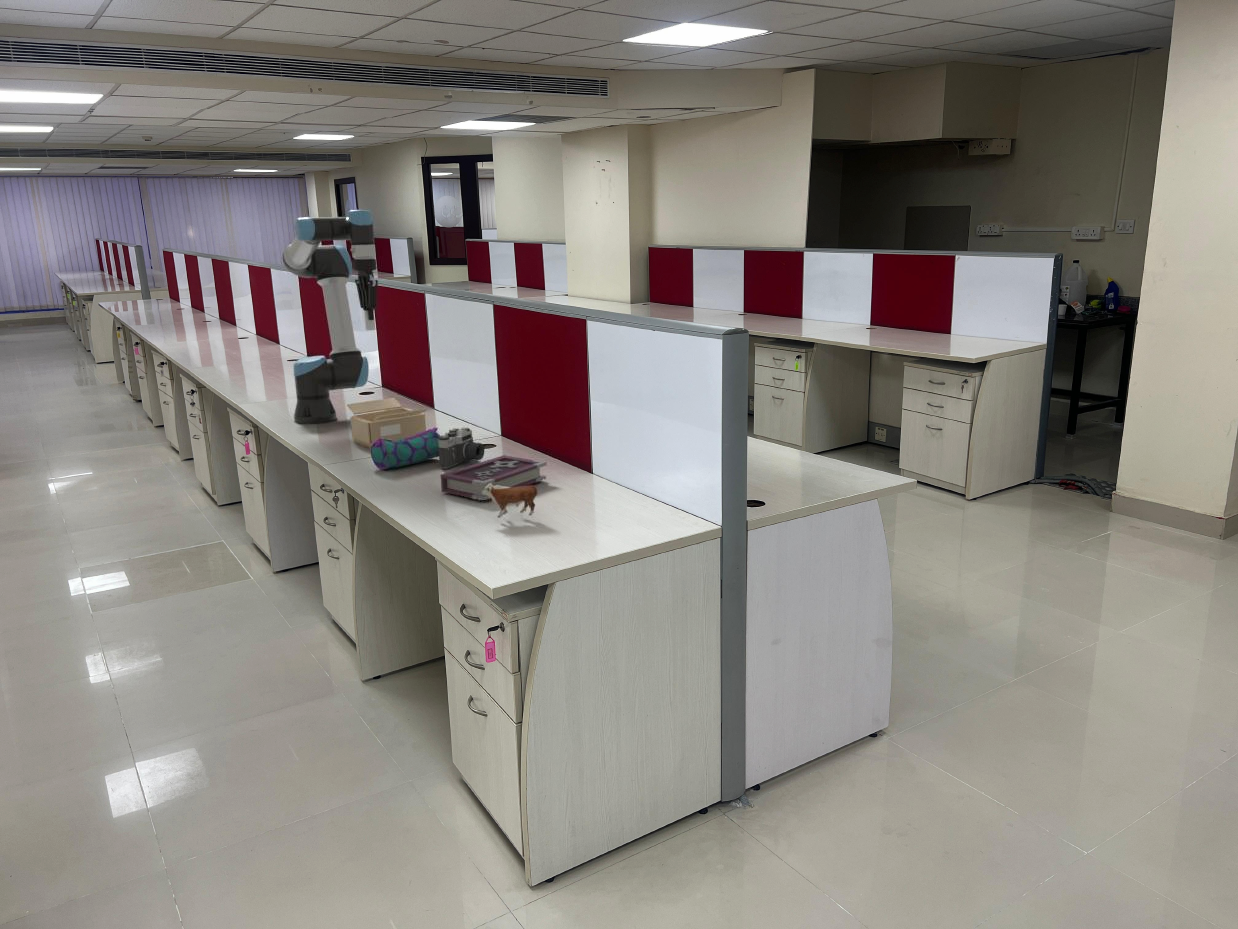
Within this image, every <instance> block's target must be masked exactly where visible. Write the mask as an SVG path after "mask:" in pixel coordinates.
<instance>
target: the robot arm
mask: <svg viewBox="0 0 1238 929" xmlns="http://www.w3.org/2000/svg"><path fill="white" fill-rule="evenodd" d="M347 214H348V216H330V217H329V216H328V217H327V216H325V217H319V216H317V217H316V216H313V217H312V216H311V217H310V216H306V217H297V218H296V219H295V224H294V231H295V238H294V239H293V241H292V243H291V244H288V245H287V246H286V247H285V249H284V250H283V253H282V263H283V266H284V267H285V268H286V269H287V270H288V271H289V272H290V273H291V274H293V275H295V276H298V277H300V278H305V279H312V278H313V279H315V278H316V283H317V284H318V285H319V286H320V287H321V288H322V293H323V294H322V295H323V298H324V299H323V301H324V306H325V312H326V318H327V323H328V324H327V325H328V329H329V330H328V331H329V337H330V342H331V348H332V350H331V351H330V353H329V358H328V359H327V358H326V356H325V355H314V356H308V357H304V358H301V359H299V360H296V361H295V362H294V363H293V377H294V386H295V392H296V393H295V394H296V395H295V396H296V405H295V408H294V409H295V410H294V412H293V413H294V414H293V420H294V423H296V422H297V424H302V425H303V424H308V425H309V424H313V425H314V424H324V423H328V422H332V421H335V420H337V417H338V415H337V411H336V408H335V407H334V405H333V403H332V400H331V396H330V391H338V390H346V389H356V388H362V387H364V386H366V384H367V383H368V380H369V374H370V373H369V370H370V369H369V361H368V358H367V356H365V355H362V351H361V349H359V348H358V347H357V345H356V339H355V334H354V332H355V331H354V327H353V321H352V315H351V310H350V303H349V297H348V291H347V283H349V281H350V277H351V276H352V275H353V271H355V272H357V279H356V278H355V279H354V283H355V285H356V289H357V296H358V301H359V306H360V308H361V309H362V310H363V312H364V313H363V314H364V323H365V331H374V330H376V324H375V312H374V311H375V309H377V308H378V307H377V306H378V304H377V303H378V300H377V299H378V284H379V280H377V279H375V278H374V273H373V272H374V271H376V270H377V269H378V267H377V259H376V256H377V255H376V245H375V234H374V220H373V214H372V212H371V210H368V209H354V210H353V209H351V210H349V211H348V213H347ZM322 241H323V242H324V241H329V242H330V241H350V246H351V248H350V252H351V255H352V258H353V259H351V256H350V254H349V251H348V250H347V249H346V248H345V246H343V245H338V244H337V245H336V244H335V245H334V244H327V245H325V244H324V245H320V244H321V242H322Z"/></svg>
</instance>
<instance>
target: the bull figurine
mask: <svg viewBox="0 0 1238 929" xmlns="http://www.w3.org/2000/svg"><path fill="white" fill-rule="evenodd" d="M482 494H483V495H487V496H488V497H490V498H491V501H492V502H493V503H494V504H495V505H496V506H498V507H499V513H498V515H497V516H496V517H497V519H499V518H502V517H503V515H506V514H508V510H507V506H508V505H514V506H515V507H516V508H517V507H519V506H520V504H521V503H524V505H523V507H522V509H521V510H520V514H522V513H523V514H524V512H527V509H528V507H529V509H530V511H529V513H528V516H533V514H534V513H535V507H536V503H535V502H534V500H535V498H536V496H537V495H538V489H537V488H536V487H535V486H534V485H527V486H521V487H503V486H500V485H496V484H494V485H492V484H491V483H489V484H488V485H487V486H486V487H485V489H484V491H483V492H482Z"/></svg>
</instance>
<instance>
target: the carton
mask: <svg viewBox="0 0 1238 929" xmlns="http://www.w3.org/2000/svg"><path fill="white" fill-rule="evenodd" d="M411 410H412V409H410V408H404V407H401V408H394V409H388V410H381V411H375V412H368V413H361V414H355V415H354V414H353V415H352V416H350V424H351V426H350V427H351V436H352V438H353V442H354V443H357V444H359V445H361V446H363V447H366V448H368V449H370V450H371V446H372V444H373V443H374V442H376V441H377V440H378V439H382V437H384V438H385V439H391V440H398V439H403V438H408V437H411V436H414V435H417V434H419V433H422V432H424V431H427V424H426V413H424V412H423V413H421V414H414V415H408V416H402V417H395V418H389V419H383V420H376V421H373V419H374V418H376V417H378V416H379V415H385V414H392V413H398V412H405V411H411Z"/></svg>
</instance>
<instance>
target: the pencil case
mask: <svg viewBox="0 0 1238 929" xmlns="http://www.w3.org/2000/svg"><path fill="white" fill-rule="evenodd" d="M437 431H438V427H435V426H434V427H433V428H429V429H426V431H424V432H422V433H419V434H417V435H414V436H411V437H408V438H403V439H398V440H391V439H385V438H384V437H382V439H378V440H377V441H376V442H374V443H373V444H372V446H371V449H370V457H371V459H372V461H373V463H374V465H375V466H376V468H378V469H379V470H382V471H383V470H387V469H395V468H399V467H405V466H410V465H413V464H418V463H421V462H426V461H428V460H431V459H435V458H439V443H438V439H439V437H440V436H441V435H440V434H439V433H438V432H437Z"/></svg>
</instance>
